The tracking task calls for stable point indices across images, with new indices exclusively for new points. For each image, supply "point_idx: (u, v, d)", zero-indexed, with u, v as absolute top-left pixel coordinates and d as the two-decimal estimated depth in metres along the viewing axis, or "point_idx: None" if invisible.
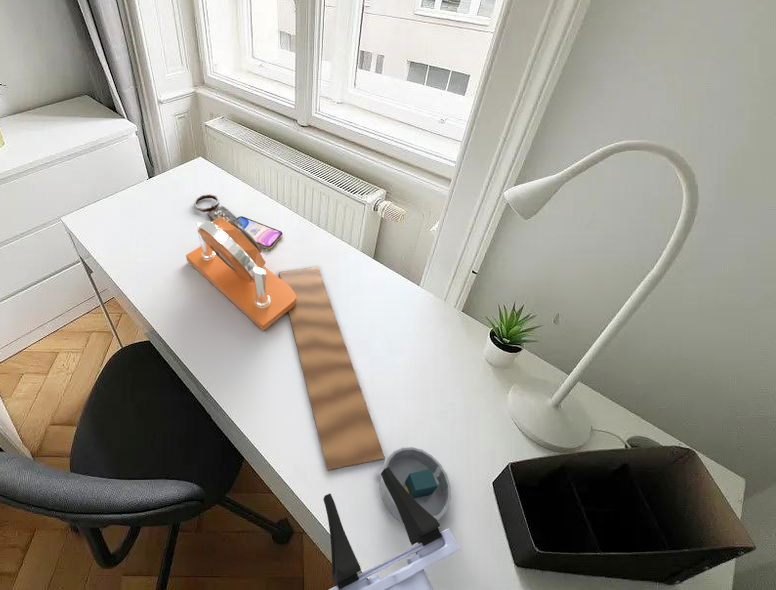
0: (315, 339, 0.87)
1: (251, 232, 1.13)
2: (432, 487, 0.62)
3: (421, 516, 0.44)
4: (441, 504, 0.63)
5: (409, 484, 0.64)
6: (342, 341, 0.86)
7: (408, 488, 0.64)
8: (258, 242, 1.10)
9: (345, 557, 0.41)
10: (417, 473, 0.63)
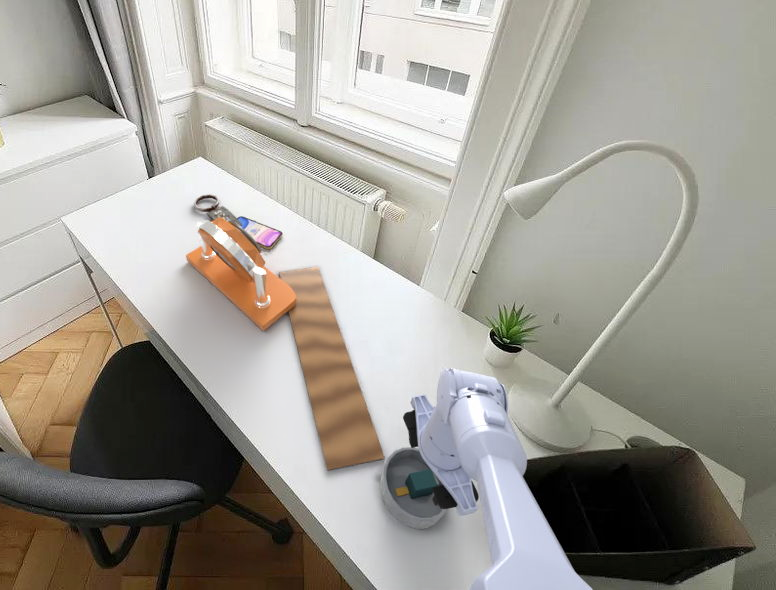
0: (315, 339, 0.87)
1: (251, 232, 1.13)
2: (432, 487, 0.62)
3: None
4: None
5: (409, 484, 0.64)
6: (342, 341, 0.86)
7: (408, 488, 0.64)
8: (258, 242, 1.10)
9: None
10: (417, 473, 0.63)
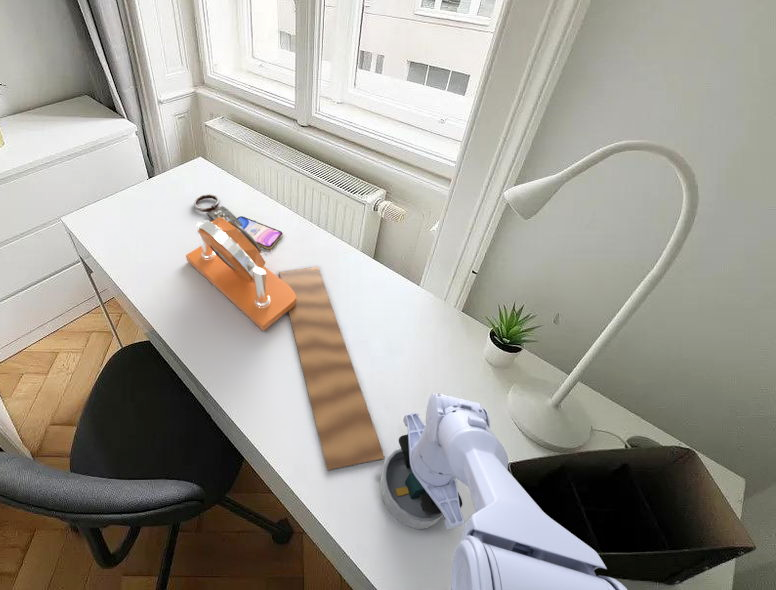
0: (315, 339, 0.87)
1: (251, 232, 1.13)
2: None
3: None
4: None
5: (409, 484, 0.64)
6: (342, 341, 0.86)
7: (408, 488, 0.64)
8: (258, 242, 1.10)
9: None
10: None
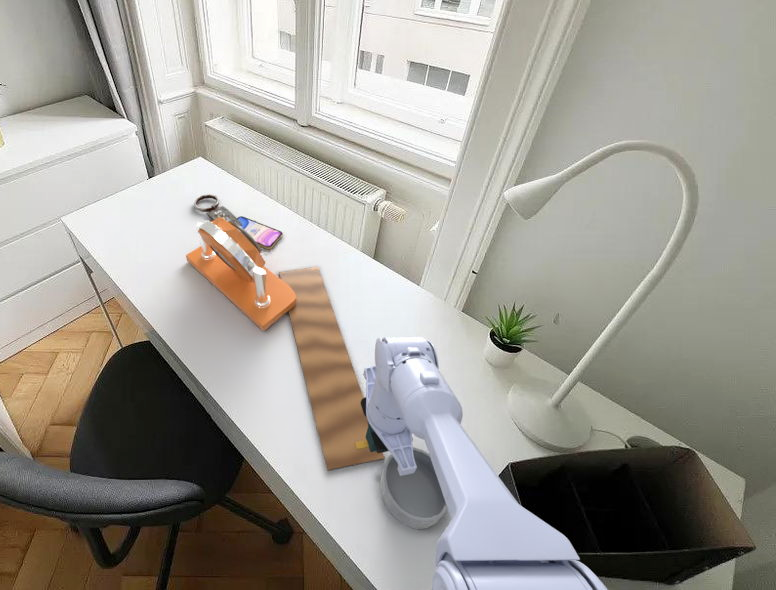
0: (315, 339, 0.87)
1: (251, 232, 1.13)
2: None
3: None
4: (441, 504, 0.63)
5: (369, 437, 0.63)
6: (342, 341, 0.86)
7: (368, 441, 0.63)
8: (258, 242, 1.10)
9: None
10: None
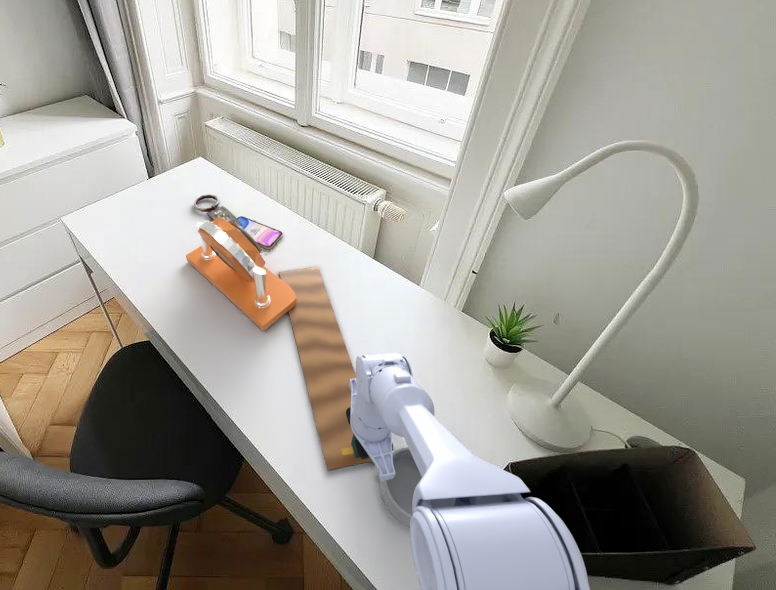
0: (315, 339, 0.87)
1: (251, 232, 1.13)
2: None
3: None
4: None
5: (354, 444, 0.67)
6: (342, 341, 0.86)
7: (353, 448, 0.68)
8: (258, 242, 1.10)
9: None
10: None
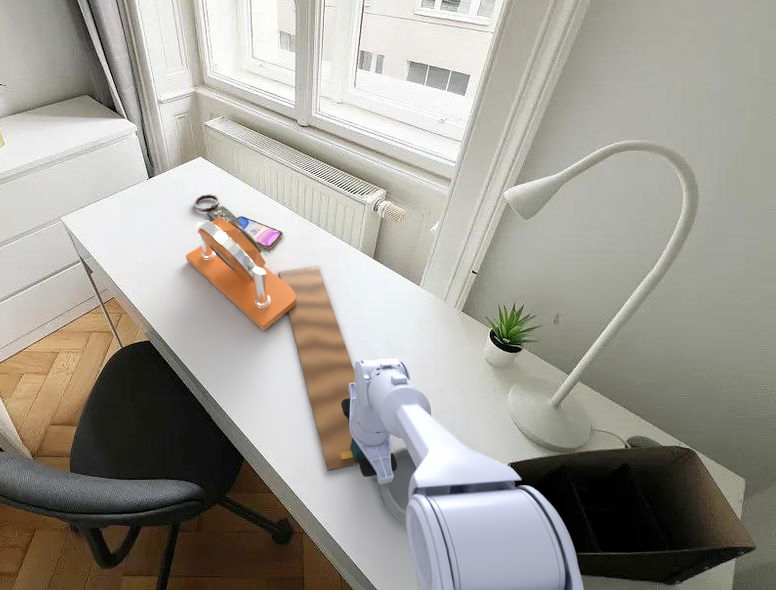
0: (315, 339, 0.87)
1: (251, 232, 1.13)
2: None
3: None
4: None
5: (353, 448, 0.68)
6: (342, 341, 0.86)
7: (352, 452, 0.69)
8: (258, 242, 1.10)
9: None
10: None
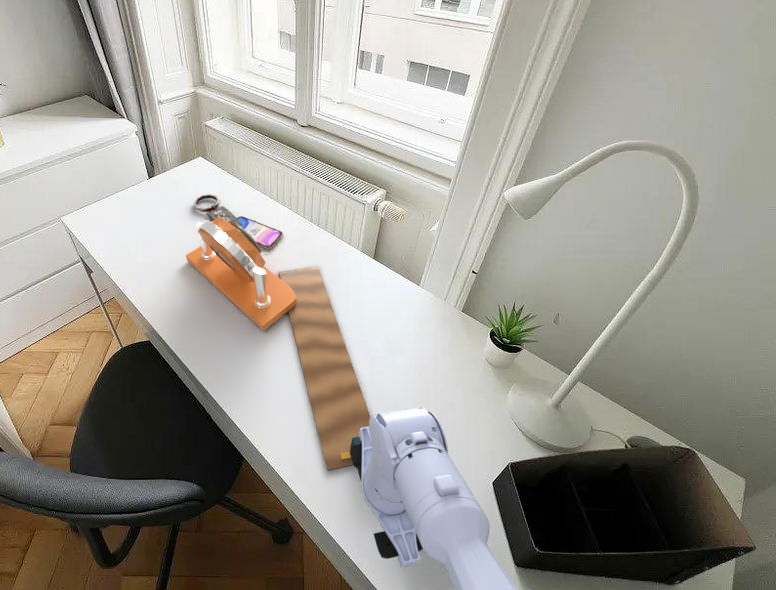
0: (315, 339, 0.87)
1: (251, 232, 1.13)
2: None
3: None
4: None
5: None
6: (342, 341, 0.86)
7: None
8: (258, 242, 1.10)
9: None
10: (359, 437, 0.68)
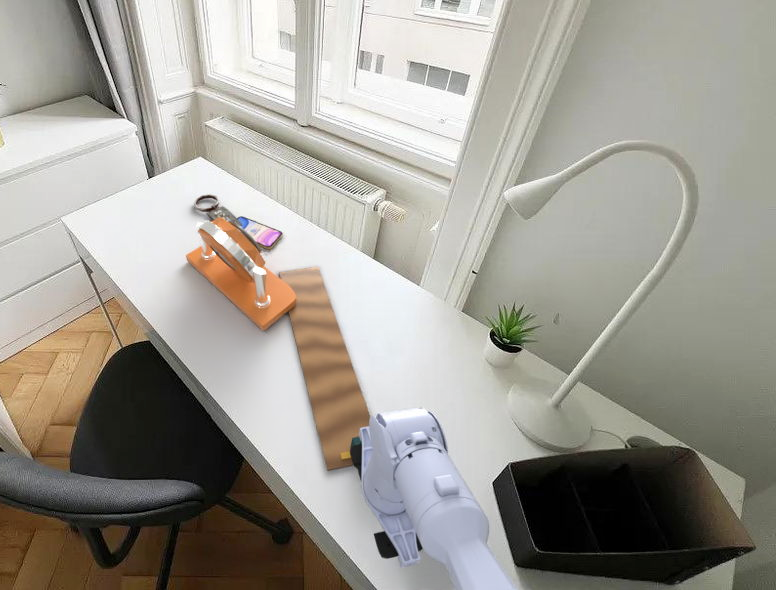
0: (315, 339, 0.87)
1: (251, 232, 1.13)
2: None
3: None
4: None
5: None
6: (342, 341, 0.86)
7: None
8: (258, 242, 1.10)
9: None
10: (359, 437, 0.68)
